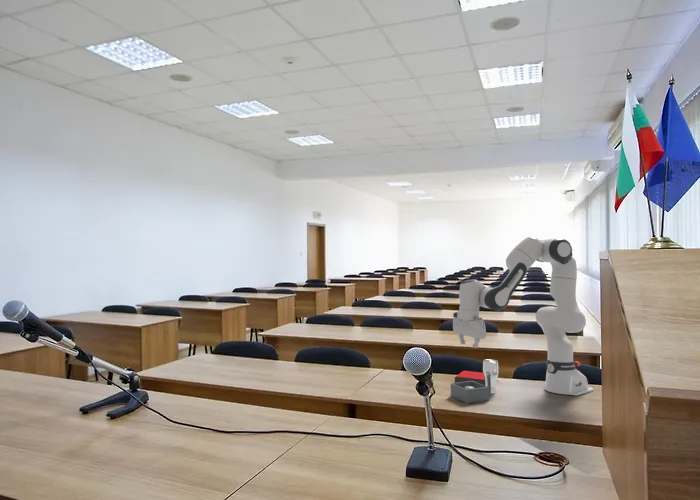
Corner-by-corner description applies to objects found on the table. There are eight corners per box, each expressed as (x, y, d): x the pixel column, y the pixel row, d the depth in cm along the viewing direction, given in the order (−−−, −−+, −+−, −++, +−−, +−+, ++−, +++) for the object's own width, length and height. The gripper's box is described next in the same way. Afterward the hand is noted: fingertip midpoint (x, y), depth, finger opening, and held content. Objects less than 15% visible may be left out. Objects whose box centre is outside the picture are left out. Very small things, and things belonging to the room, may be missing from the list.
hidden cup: (470, 395, 218) (470, 385, 219) (475, 397, 215) (475, 387, 215) (463, 396, 217) (463, 386, 217) (468, 398, 213) (468, 388, 213)
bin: (472, 393, 224) (472, 380, 224) (488, 400, 213) (488, 387, 213) (450, 396, 219) (450, 383, 219) (466, 403, 208) (466, 389, 208)
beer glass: (499, 395, 221) (498, 362, 221) (483, 394, 222) (483, 362, 223) (497, 391, 228) (497, 359, 228) (482, 390, 229) (482, 359, 230)
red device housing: (497, 384, 242) (497, 374, 242) (491, 391, 229) (491, 380, 229) (462, 379, 250) (462, 370, 250) (454, 386, 238) (454, 376, 238)
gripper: (489, 317, 208) (489, 349, 208) (461, 312, 227) (461, 341, 227) (477, 318, 206) (477, 350, 205) (450, 313, 225) (450, 342, 224)
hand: (469, 345), depth 216 cm, fingers open, 8 cm apart
